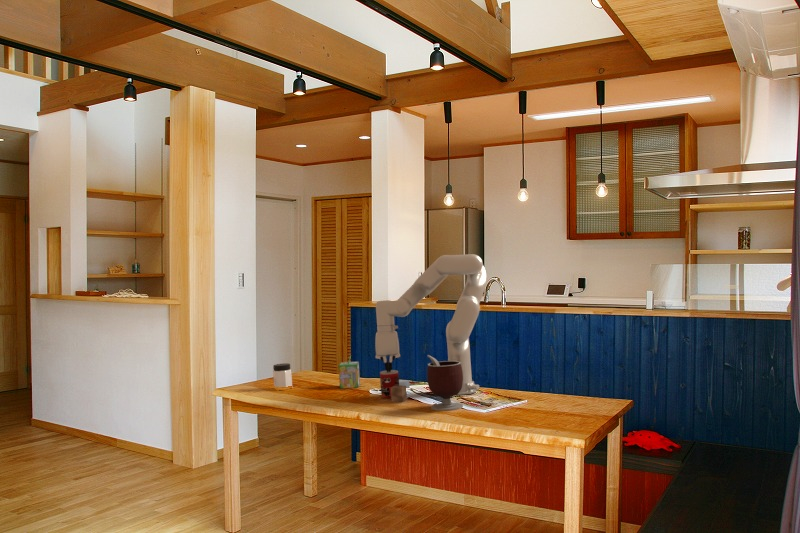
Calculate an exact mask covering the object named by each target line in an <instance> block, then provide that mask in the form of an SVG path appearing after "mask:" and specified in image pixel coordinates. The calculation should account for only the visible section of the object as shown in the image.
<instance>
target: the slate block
mask: <svg viewBox="0 0 800 533" xmlns="http://www.w3.org/2000/svg"><path fill="white" fill-rule="evenodd" d="M399 386H406V388H410V386H411V385H410V380H408V379H399Z"/></svg>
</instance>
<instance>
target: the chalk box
mask: <svg viewBox="0 0 800 533" xmlns="http://www.w3.org/2000/svg"><path fill="white" fill-rule="evenodd" d="M351 356H352V355H350V356H349V357H348V361H341V362H339V364H338V377H339V389H340V390H341V389H345V390H346V389H359V387H360V385H361V379H360V362H359V361H351Z"/></svg>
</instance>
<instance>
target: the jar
mask: <svg viewBox="0 0 800 533" xmlns="http://www.w3.org/2000/svg"><path fill="white" fill-rule="evenodd" d="M272 369H273V370H272V374H273V387H274V386H275V387H288V386H292V387H293V376H292V369H291V364H290V363H287V362H286V363H275V364H274V365H273V368H272Z"/></svg>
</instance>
